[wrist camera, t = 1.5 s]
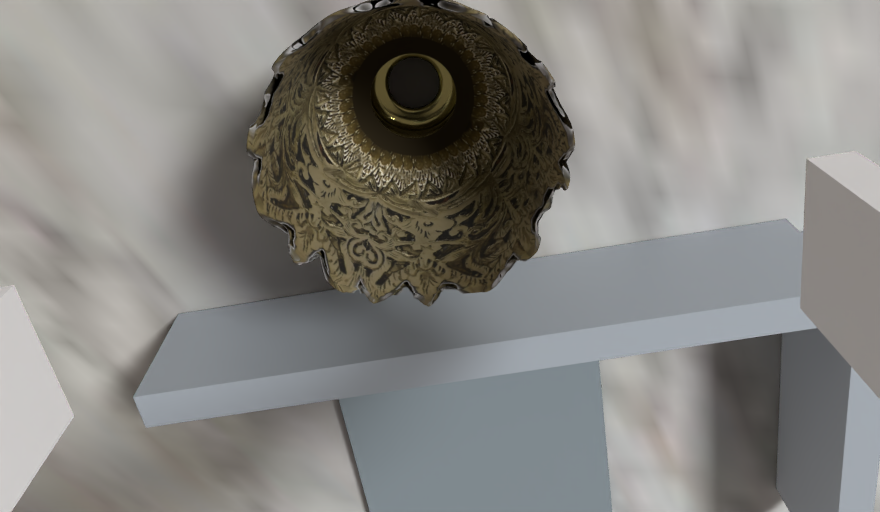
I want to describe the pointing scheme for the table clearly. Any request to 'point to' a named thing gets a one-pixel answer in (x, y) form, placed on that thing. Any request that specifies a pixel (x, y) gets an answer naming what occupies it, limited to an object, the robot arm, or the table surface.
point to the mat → (485, 444)
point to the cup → (409, 150)
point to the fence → (545, 344)
